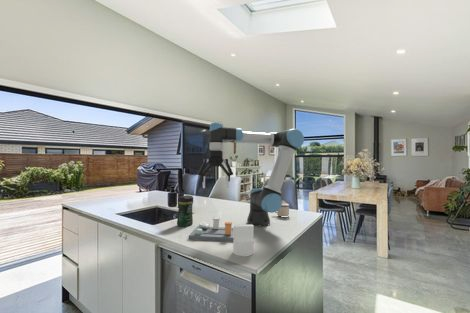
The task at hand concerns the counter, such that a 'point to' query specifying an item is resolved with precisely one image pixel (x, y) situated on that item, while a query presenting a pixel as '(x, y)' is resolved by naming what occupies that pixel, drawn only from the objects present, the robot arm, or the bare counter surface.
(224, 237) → the panel
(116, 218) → the counter surface
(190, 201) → the coffee jar
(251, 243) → the cylinder with rectangular tab
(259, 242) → the counter surface
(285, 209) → the teacup with lid
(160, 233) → the counter surface
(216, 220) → the slider
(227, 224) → the slider
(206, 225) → the light grey flat piece
